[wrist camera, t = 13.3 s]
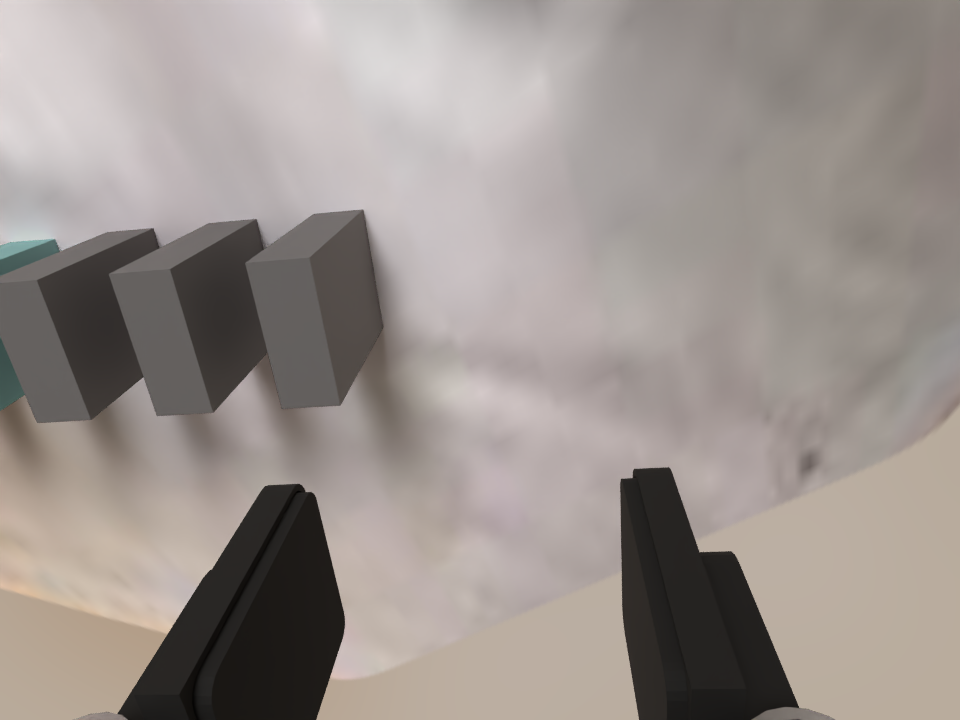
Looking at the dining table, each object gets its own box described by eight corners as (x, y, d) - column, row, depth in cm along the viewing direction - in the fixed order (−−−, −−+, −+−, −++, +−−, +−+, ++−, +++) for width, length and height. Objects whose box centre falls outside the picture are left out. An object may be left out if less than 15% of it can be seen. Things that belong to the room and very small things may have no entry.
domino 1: (363, 209, 26) (309, 257, 20) (383, 327, 28) (340, 405, 22) (313, 213, 26) (244, 263, 20) (337, 330, 28) (281, 408, 22)
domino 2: (256, 218, 26) (169, 269, 20) (283, 334, 29) (213, 412, 22) (209, 223, 27) (108, 273, 20) (239, 337, 29) (157, 416, 22)
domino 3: (153, 228, 27) (36, 280, 21) (187, 341, 29) (90, 420, 23) (107, 232, 27) (-22, 285, 21) (144, 343, 29) (37, 423, 23)
